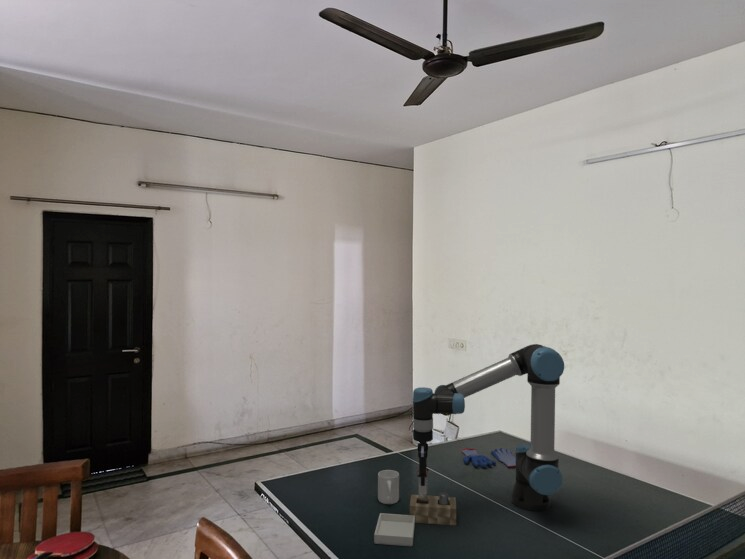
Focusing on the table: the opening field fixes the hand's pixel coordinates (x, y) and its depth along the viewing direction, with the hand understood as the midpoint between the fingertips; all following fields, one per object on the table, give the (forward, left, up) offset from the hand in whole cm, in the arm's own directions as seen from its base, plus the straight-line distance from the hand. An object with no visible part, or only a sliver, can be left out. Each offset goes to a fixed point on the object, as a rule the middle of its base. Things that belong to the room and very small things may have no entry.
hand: (423, 491), depth 187 cm
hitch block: (-4, 0, -10) cm, 10 cm away
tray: (+9, +14, -10) cm, 19 cm away
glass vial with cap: (0, 0, -8) cm, 8 cm away
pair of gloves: (-33, -67, -10) cm, 75 cm away
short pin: (-8, 0, -10) cm, 12 cm away
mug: (+14, -11, -10) cm, 21 cm away
